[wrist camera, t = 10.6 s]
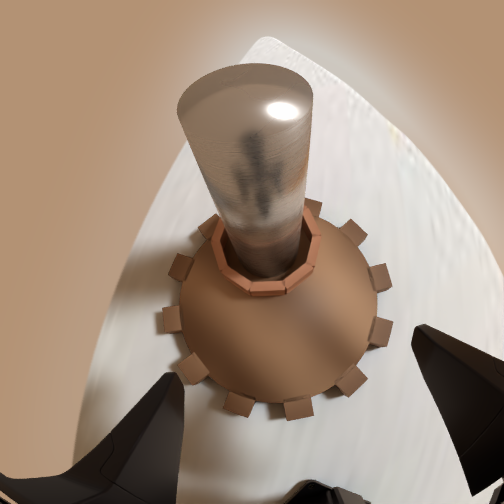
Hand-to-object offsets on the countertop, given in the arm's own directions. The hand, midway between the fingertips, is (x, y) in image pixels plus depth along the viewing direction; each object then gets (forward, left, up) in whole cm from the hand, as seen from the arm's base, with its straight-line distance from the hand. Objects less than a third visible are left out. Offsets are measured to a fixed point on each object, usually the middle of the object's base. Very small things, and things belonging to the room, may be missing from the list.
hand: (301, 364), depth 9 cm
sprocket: (+3, +3, -10) cm, 11 cm away
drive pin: (+5, +6, -8) cm, 12 cm away
